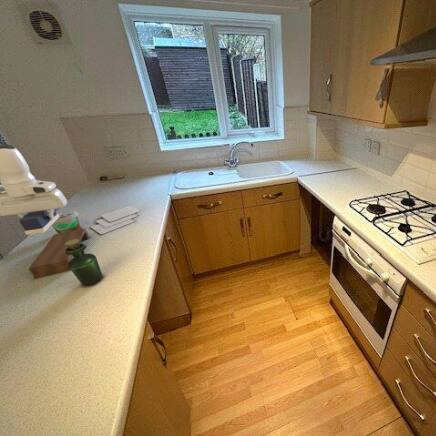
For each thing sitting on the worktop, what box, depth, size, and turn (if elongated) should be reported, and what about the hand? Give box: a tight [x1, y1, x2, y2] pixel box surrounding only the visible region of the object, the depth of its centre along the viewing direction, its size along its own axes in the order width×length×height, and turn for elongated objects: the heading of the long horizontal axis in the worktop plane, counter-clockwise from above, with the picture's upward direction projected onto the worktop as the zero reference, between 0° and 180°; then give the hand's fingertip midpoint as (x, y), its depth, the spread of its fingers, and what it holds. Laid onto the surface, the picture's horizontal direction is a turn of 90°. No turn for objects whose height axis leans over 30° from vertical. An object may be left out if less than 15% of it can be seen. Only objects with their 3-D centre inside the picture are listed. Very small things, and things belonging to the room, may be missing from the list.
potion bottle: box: [65, 239, 104, 287], centre depth 88 cm, size 8×8×18 cm
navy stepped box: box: [18, 209, 61, 236], centre depth 96 cm, size 14×6×6 cm, turn 22°
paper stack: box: [90, 205, 141, 235], centre depth 137 cm, size 23×25×1 cm
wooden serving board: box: [28, 228, 90, 279], centre depth 106 cm, size 12×28×5 cm, turn 26°
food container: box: [51, 210, 82, 234], centre depth 122 cm, size 12×6×10 cm, turn 129°
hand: (41, 220), depth 96 cm, fingers closed on navy stepped box, 5 cm apart
